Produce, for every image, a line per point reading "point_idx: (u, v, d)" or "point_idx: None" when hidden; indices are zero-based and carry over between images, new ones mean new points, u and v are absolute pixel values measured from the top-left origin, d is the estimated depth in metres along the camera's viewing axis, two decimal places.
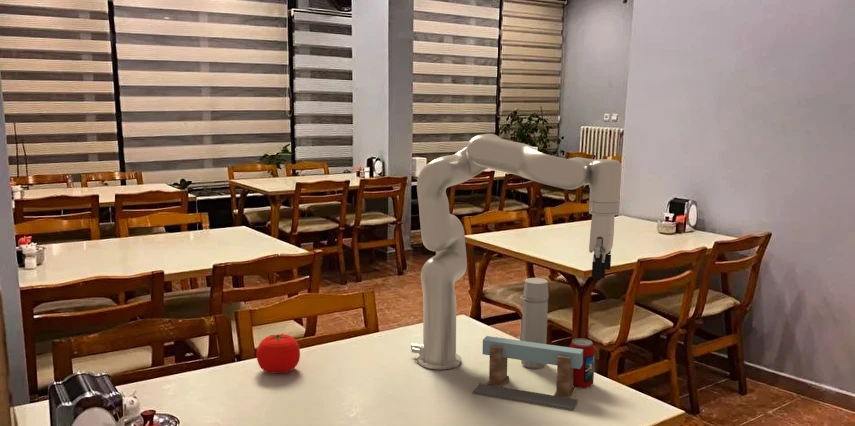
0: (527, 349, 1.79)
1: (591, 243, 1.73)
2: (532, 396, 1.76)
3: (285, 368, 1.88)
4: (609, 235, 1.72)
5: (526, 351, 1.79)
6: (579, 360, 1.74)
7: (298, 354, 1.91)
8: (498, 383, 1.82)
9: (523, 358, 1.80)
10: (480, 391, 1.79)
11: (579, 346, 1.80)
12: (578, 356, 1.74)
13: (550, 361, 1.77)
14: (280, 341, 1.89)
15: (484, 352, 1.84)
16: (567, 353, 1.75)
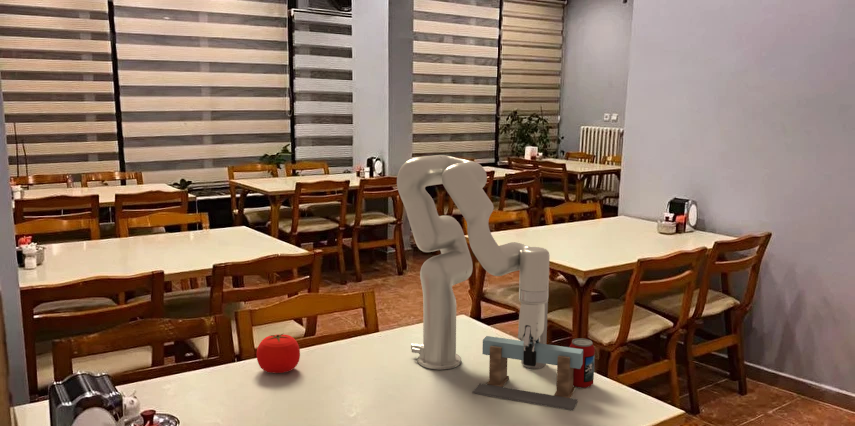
0: None
1: (520, 331, 1.76)
2: (532, 396, 1.76)
3: (285, 368, 1.88)
4: (537, 323, 1.75)
5: None
6: (579, 360, 1.74)
7: (298, 354, 1.91)
8: (498, 383, 1.82)
9: None
10: (480, 391, 1.79)
11: (579, 346, 1.80)
12: (578, 356, 1.74)
13: (550, 361, 1.77)
14: (280, 341, 1.89)
15: (484, 352, 1.84)
16: (567, 353, 1.75)
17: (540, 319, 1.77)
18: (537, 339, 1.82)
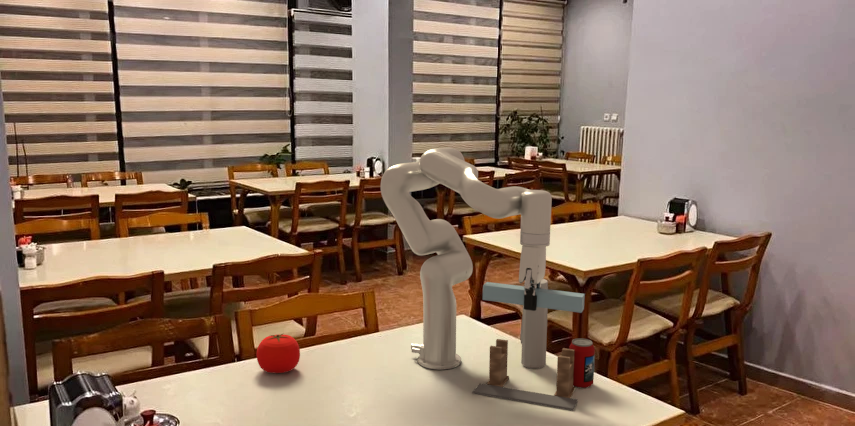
0: None
1: (520, 274, 1.74)
2: (532, 396, 1.76)
3: (285, 368, 1.88)
4: (538, 266, 1.73)
5: None
6: (580, 304, 1.72)
7: (298, 354, 1.91)
8: (498, 383, 1.82)
9: (523, 303, 1.78)
10: (480, 391, 1.79)
11: (579, 346, 1.80)
12: (579, 299, 1.72)
13: (551, 305, 1.75)
14: (280, 341, 1.89)
15: (484, 297, 1.82)
16: (569, 297, 1.73)
17: (541, 262, 1.74)
18: (538, 284, 1.80)
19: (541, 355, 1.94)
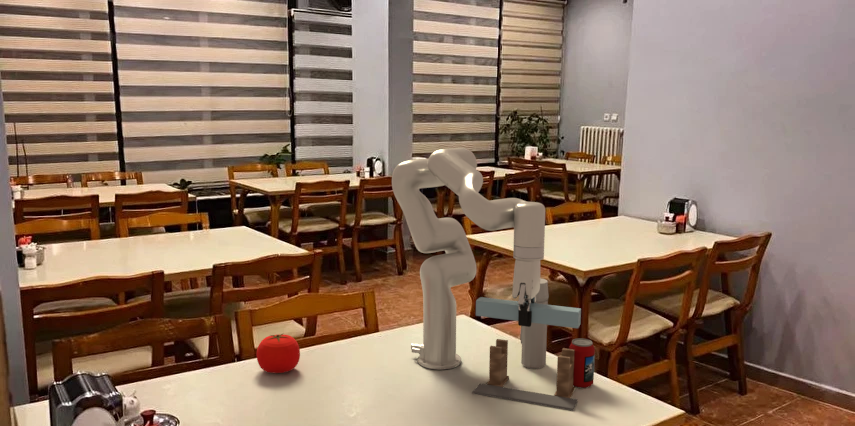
0: None
1: (514, 289, 1.68)
2: (532, 396, 1.76)
3: (285, 368, 1.88)
4: (532, 281, 1.67)
5: None
6: (577, 319, 1.66)
7: (298, 354, 1.91)
8: (498, 383, 1.82)
9: None
10: (480, 391, 1.79)
11: (579, 346, 1.80)
12: (576, 314, 1.66)
13: (546, 321, 1.69)
14: (280, 341, 1.89)
15: (477, 313, 1.76)
16: (564, 312, 1.67)
17: (535, 277, 1.69)
18: (533, 299, 1.74)
19: (541, 355, 1.94)
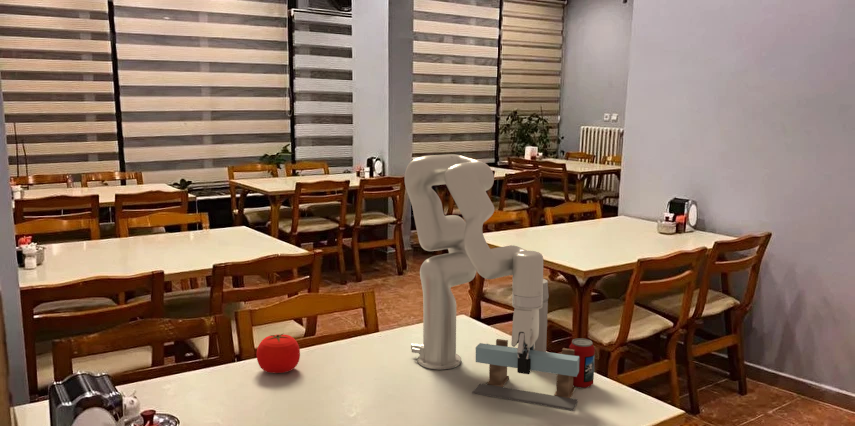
0: None
1: (513, 338, 1.70)
2: (532, 396, 1.76)
3: (285, 368, 1.88)
4: (531, 330, 1.69)
5: None
6: (575, 368, 1.68)
7: (298, 354, 1.91)
8: (498, 383, 1.82)
9: None
10: (480, 391, 1.79)
11: (579, 346, 1.80)
12: (574, 363, 1.68)
13: (545, 369, 1.71)
14: (280, 341, 1.89)
15: (477, 360, 1.78)
16: (563, 360, 1.69)
17: (534, 325, 1.71)
18: (531, 346, 1.76)
19: None
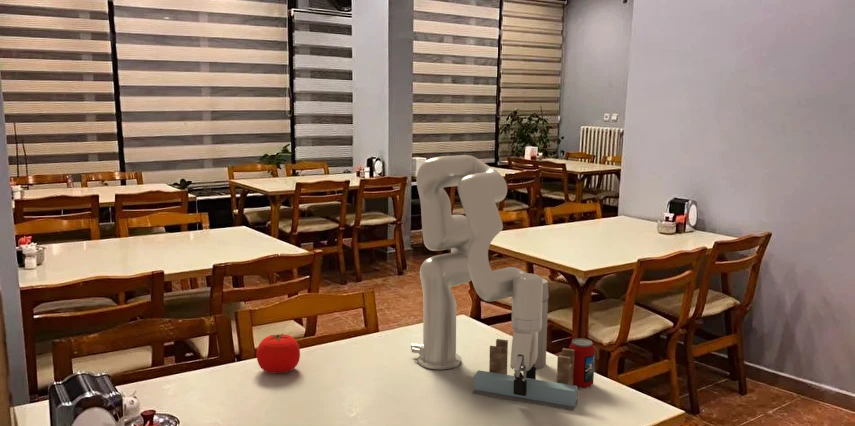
0: None
1: (512, 360, 1.71)
2: None
3: (285, 368, 1.88)
4: (530, 352, 1.70)
5: None
6: (573, 398, 1.70)
7: (298, 354, 1.91)
8: None
9: None
10: (480, 391, 1.79)
11: (579, 346, 1.80)
12: (572, 393, 1.70)
13: (543, 398, 1.73)
14: (280, 341, 1.89)
15: (476, 387, 1.79)
16: (561, 390, 1.71)
17: (533, 348, 1.72)
18: None
19: (541, 355, 1.94)
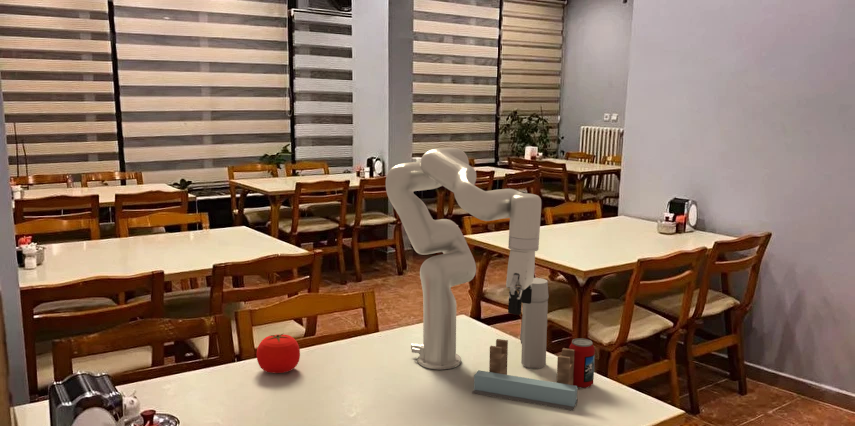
0: (519, 385, 1.75)
1: (508, 279, 1.70)
2: None
3: (285, 368, 1.88)
4: (526, 272, 1.69)
5: (518, 387, 1.75)
6: (573, 398, 1.70)
7: (298, 354, 1.91)
8: None
9: (515, 394, 1.75)
10: (480, 391, 1.79)
11: (579, 346, 1.80)
12: (572, 393, 1.70)
13: (543, 398, 1.73)
14: (280, 341, 1.89)
15: (476, 387, 1.79)
16: (561, 390, 1.71)
17: (529, 268, 1.71)
18: None
19: (541, 355, 1.94)
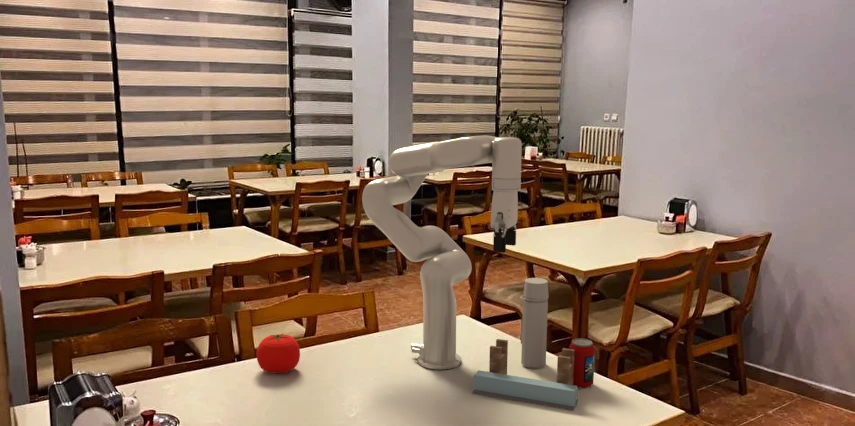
0: (519, 385, 1.75)
1: (492, 218, 1.78)
2: None
3: (285, 368, 1.88)
4: (509, 210, 1.77)
5: (518, 387, 1.75)
6: (573, 398, 1.70)
7: (298, 354, 1.91)
8: None
9: (515, 394, 1.75)
10: (480, 391, 1.79)
11: (579, 346, 1.80)
12: (572, 393, 1.70)
13: (543, 398, 1.73)
14: (280, 341, 1.89)
15: (476, 387, 1.79)
16: (561, 390, 1.71)
17: (512, 207, 1.79)
18: None
19: (541, 355, 1.94)
